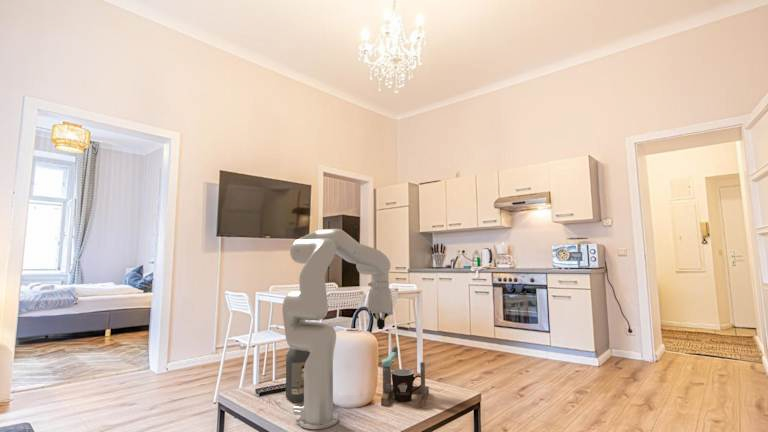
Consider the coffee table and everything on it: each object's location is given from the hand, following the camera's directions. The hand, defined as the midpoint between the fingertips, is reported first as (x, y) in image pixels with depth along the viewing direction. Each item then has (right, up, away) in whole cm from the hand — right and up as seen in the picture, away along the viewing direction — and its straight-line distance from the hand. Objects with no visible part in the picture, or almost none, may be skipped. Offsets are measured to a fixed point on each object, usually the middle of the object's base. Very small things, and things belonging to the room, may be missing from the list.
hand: (380, 328), depth 168 cm
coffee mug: (+10, -21, -21) cm, 31 cm away
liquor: (-31, -22, -17) cm, 42 cm away
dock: (+10, -21, -20) cm, 31 cm away
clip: (+4, -10, -11) cm, 15 cm away
